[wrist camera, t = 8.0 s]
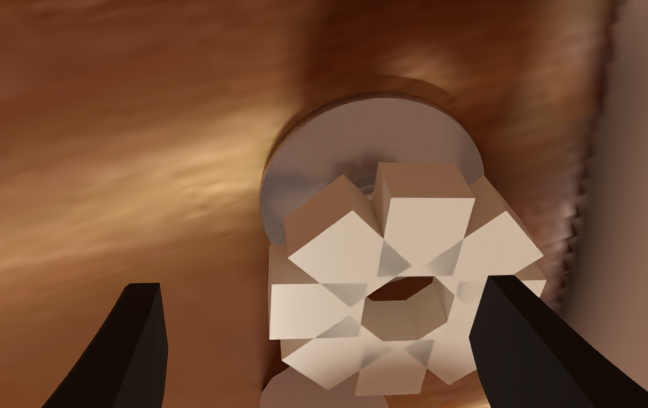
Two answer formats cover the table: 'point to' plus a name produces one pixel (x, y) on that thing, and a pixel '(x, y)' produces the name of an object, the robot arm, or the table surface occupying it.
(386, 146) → the axle mount
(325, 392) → the foam cup
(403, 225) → the wheel
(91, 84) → the table surface
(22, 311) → the table surface
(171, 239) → the table surface
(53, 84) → the table surface
